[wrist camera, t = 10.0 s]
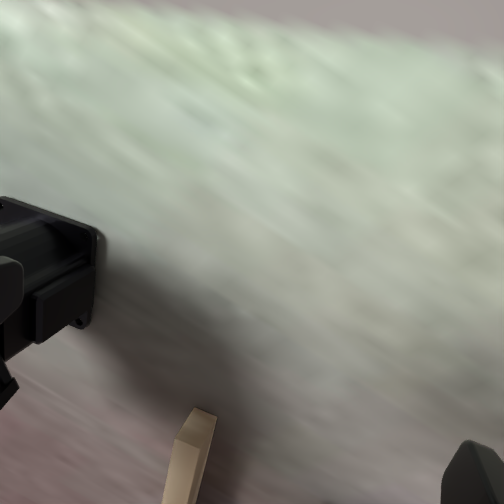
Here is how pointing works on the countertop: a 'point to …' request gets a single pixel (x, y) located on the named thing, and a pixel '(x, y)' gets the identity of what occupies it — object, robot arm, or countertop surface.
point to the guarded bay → (189, 458)
